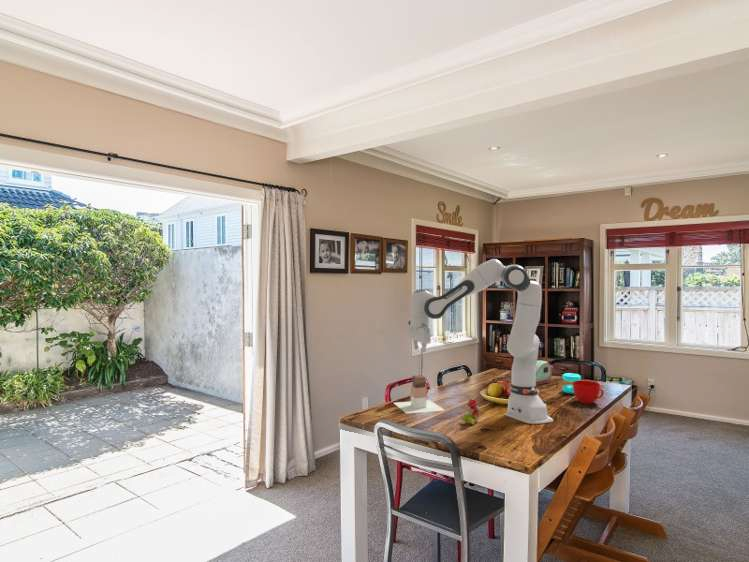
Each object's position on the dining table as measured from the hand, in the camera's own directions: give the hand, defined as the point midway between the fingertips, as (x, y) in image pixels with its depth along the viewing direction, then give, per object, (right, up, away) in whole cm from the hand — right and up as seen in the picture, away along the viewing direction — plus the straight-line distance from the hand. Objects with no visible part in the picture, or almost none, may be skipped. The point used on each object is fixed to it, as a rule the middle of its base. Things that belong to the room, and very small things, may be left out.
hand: (419, 350), depth 238 cm
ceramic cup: (+89, -29, +12) cm, 95 cm away
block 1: (-1, -23, 0) cm, 23 cm away
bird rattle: (+21, -29, -23) cm, 43 cm away
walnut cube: (-1, -18, 0) cm, 18 cm away
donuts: (+90, -29, +36) cm, 101 cm away
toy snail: (+80, -29, +60) cm, 104 cm away
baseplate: (-1, -29, 0) cm, 29 cm away
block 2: (-1, -28, 0) cm, 28 cm away
